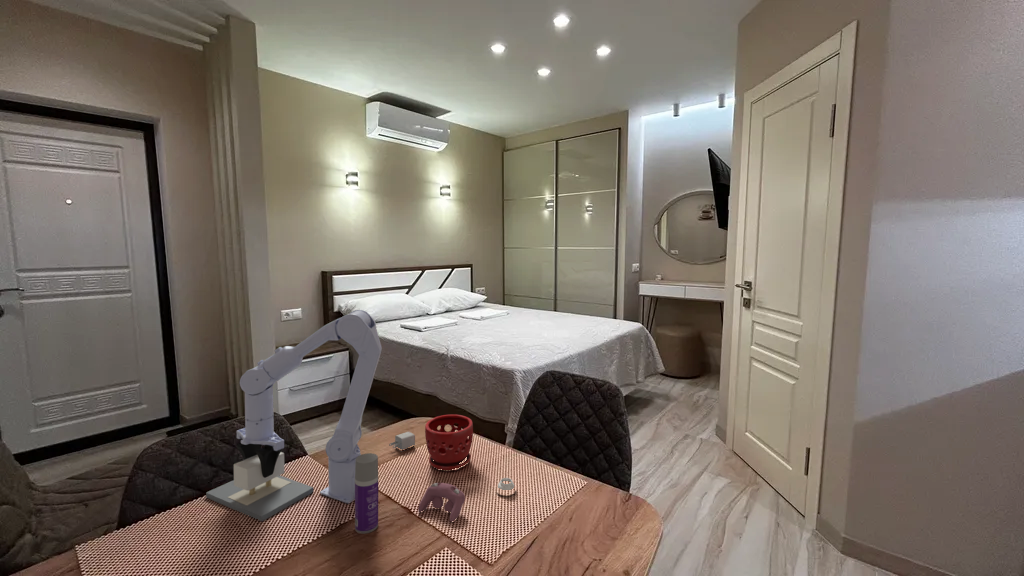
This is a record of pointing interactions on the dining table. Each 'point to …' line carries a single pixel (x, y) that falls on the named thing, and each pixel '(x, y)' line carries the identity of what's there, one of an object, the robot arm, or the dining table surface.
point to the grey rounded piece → (506, 486)
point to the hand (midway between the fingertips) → (260, 472)
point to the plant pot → (449, 441)
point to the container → (366, 493)
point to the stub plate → (261, 496)
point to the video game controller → (436, 494)
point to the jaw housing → (255, 472)
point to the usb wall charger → (404, 440)
